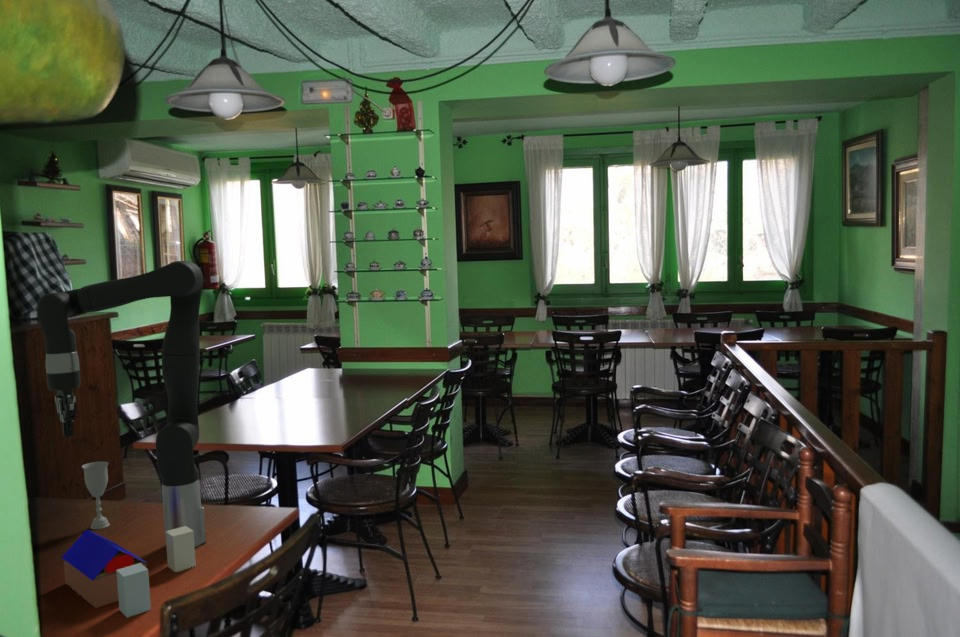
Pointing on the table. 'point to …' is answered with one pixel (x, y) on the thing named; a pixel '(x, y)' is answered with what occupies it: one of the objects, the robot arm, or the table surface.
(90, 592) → the house
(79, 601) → the table surface
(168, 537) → the cream block
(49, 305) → the robot arm
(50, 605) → the table surface
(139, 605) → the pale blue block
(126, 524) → the table surface
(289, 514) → the table surface
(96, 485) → the chalice
